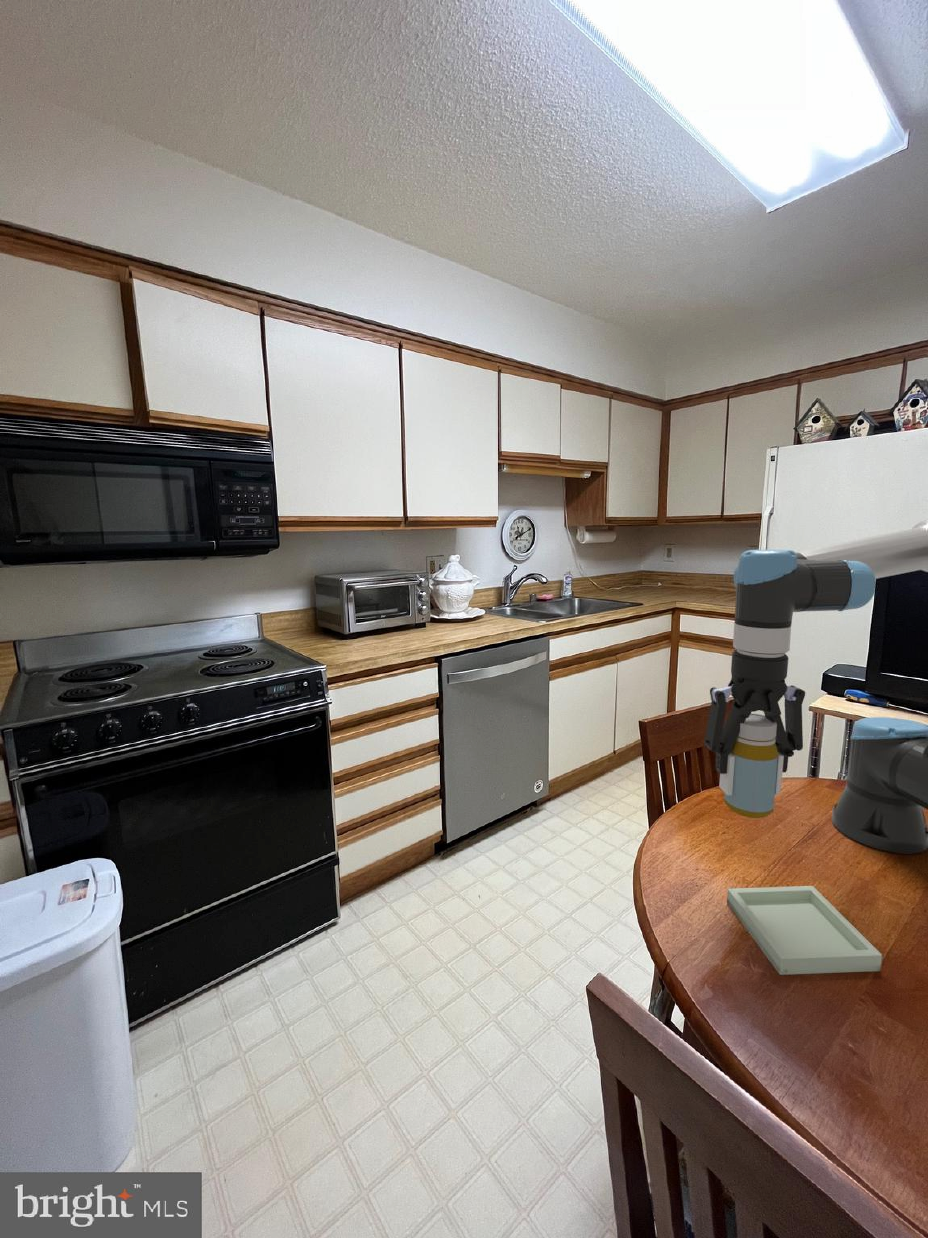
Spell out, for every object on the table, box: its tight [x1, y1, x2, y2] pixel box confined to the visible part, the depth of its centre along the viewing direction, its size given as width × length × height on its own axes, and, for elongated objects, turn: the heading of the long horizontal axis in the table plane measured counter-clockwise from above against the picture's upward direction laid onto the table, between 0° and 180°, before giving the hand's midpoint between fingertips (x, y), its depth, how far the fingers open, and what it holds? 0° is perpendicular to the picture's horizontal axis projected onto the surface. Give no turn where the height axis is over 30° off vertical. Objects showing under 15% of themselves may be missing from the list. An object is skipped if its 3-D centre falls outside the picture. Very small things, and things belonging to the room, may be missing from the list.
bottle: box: [723, 712, 778, 819], centre depth 82 cm, size 7×7×15 cm
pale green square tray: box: [726, 885, 883, 976], centre depth 78 cm, size 14×14×2 cm
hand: (749, 790), depth 83 cm, fingers closed on bottle, 7 cm apart
